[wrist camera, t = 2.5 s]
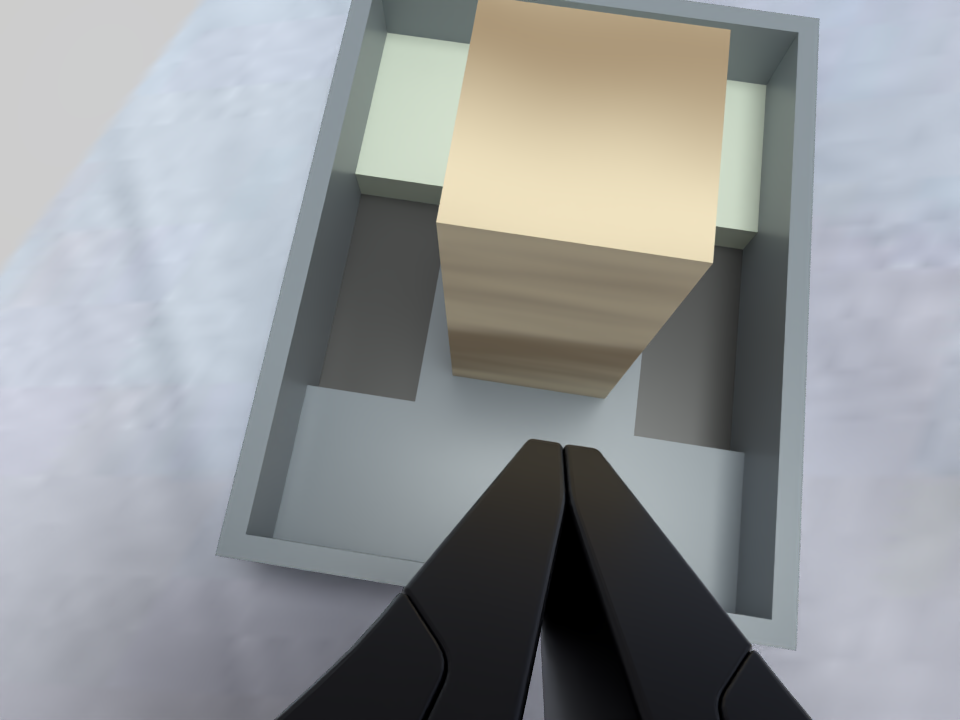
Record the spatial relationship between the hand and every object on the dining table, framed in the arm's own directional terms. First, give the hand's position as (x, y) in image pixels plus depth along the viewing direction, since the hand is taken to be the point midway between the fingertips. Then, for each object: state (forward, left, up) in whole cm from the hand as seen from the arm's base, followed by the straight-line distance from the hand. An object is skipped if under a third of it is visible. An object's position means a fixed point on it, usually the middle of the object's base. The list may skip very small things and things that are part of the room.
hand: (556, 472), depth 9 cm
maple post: (+6, 0, -12) cm, 13 cm away
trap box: (+7, 0, -13) cm, 15 cm away
